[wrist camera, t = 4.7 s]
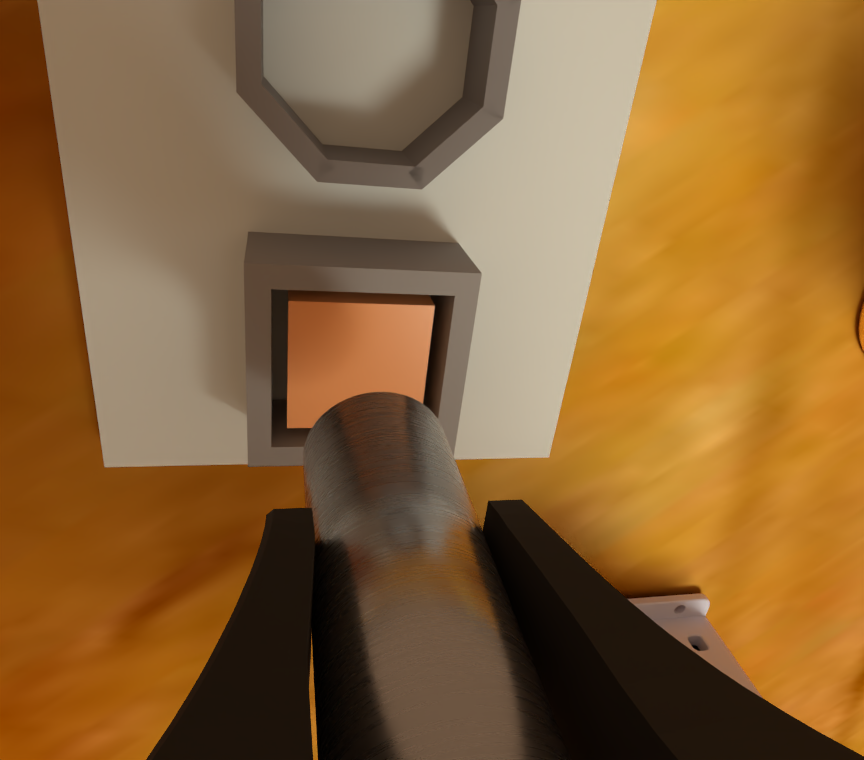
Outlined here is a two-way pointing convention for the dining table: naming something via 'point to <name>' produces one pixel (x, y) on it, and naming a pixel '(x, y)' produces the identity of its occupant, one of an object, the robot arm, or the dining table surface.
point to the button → (353, 348)
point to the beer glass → (861, 327)
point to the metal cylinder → (411, 600)
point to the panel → (333, 201)
